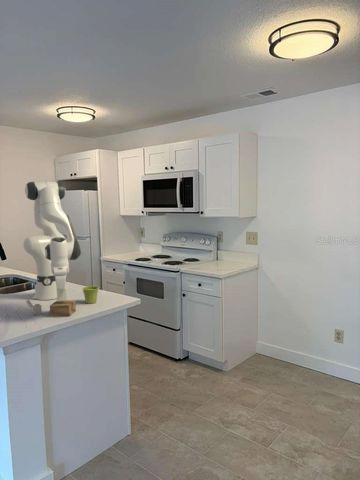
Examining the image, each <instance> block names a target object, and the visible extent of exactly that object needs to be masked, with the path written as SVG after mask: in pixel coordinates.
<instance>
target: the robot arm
mask: <svg viewBox="0 0 360 480" xmlns="http://www.w3.org/2000/svg"><path fill="white" fill-rule="evenodd" d="M66 192H67V191H66V187H65V185H64V183H63V182H59V181H49V180H48V181H47V180H45V181H29V182H27V183H26V185H25V188H24V193H25V194H24V195H25V196H26V198H27V199H28V200H30V201H34V204H33V205H34V206H33V211H34V212H33V213H34V214H33V215H34V224H35V226H36V227H37V228H38V229H41V230H42V231H43V234H36V235H30V236H28V237H26V238H25V239H24V241H23V243H22V244H23V245H22V246H23V249H24V251H25V252H26V253H27V254H29V255H30V256H31V257H32V258H33V259H34V261H35V264H36V270H37V271H36V272H37V273H36V284H35V285H34V295H32V296H31V299H32V300H38V301H40V300H41V301H50V300H54V299H57V290H59V293H60V297H63V290H65V287H66V283H67V280H66V279H67V275H68V273H70V263H69V260H70V261H76V260H77V259H78V258H79V257H81V254H82V249H81V246H80V244H79V241H78V239H77V236H76V233H75V229H74V226H73V223H72V221H71V219H70V216H69V215H68V214H66V213H65V212H64V210H63V209H62V208H63V207H62V203H61V200H62V199H64V198H65V196H66ZM56 225H58V226H60V227H62V228H63V230H64V232H65V235H66V237H67V239H66V237H65V236H64V235H63V233H61V232H59V230H58V229H57V226H56Z"/></svg>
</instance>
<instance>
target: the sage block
mask: <svg viewBox="0 0 360 480" xmlns="http://www.w3.org/2000/svg"><path fill="white" fill-rule="evenodd" d="M62 300H67V287H66V286H65V290H63V297H60V293H59V290H57V298H56V301H62Z"/></svg>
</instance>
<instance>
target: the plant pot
mask: <svg viewBox="0 0 360 480" xmlns="http://www.w3.org/2000/svg"><path fill="white" fill-rule="evenodd" d="M99 289H100V287H99V286H95V285H94V286H93V285H92V286H91V285H90V286H84V287H82V288H81V290H82V292H83V295H84V300H85V303H86V304H88V305H89V304H96V303H97V300H98V292H99Z"/></svg>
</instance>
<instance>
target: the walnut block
mask: <svg viewBox="0 0 360 480" xmlns="http://www.w3.org/2000/svg"><path fill="white" fill-rule="evenodd" d="M76 311H77V307H76V300H75V299H74V300H73V299H72V300H71V299H69V300H68V299H66V300H62V301H57V300H56V301H54V302H53V303H52V304H50V305H49V315H50V318H52V317H53V318H54V317H55V318H57V317H59V318H60V317H65V318H67V317H71V316H72V315H74V313H75V312H76Z"/></svg>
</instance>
